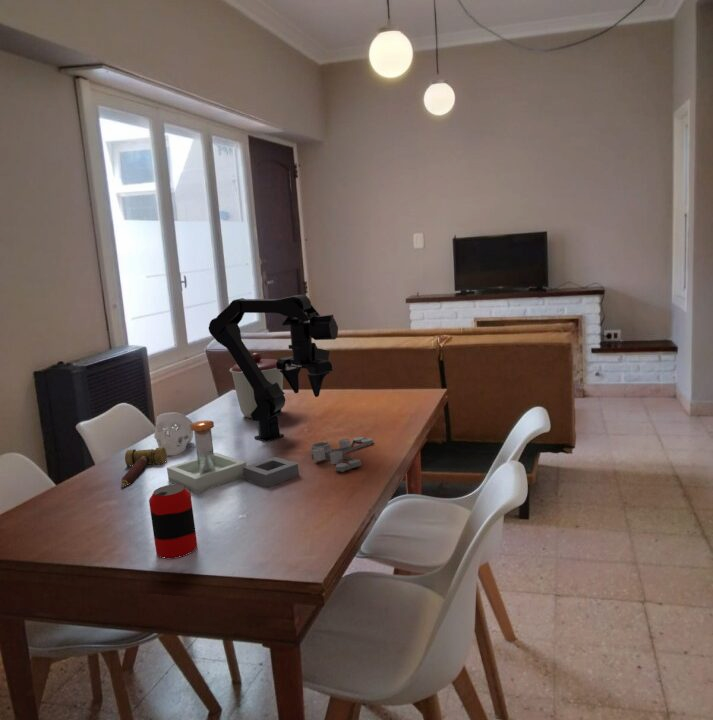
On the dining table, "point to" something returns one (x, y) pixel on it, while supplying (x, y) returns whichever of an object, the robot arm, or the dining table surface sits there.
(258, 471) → the pin socket
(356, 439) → the pulley system
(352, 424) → the dining table surface
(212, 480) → the tray
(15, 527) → the dining table surface
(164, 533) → the soda can
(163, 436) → the skull bowl
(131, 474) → the gavel
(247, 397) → the canister
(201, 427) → the pin
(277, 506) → the dining table surface
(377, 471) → the dining table surface
